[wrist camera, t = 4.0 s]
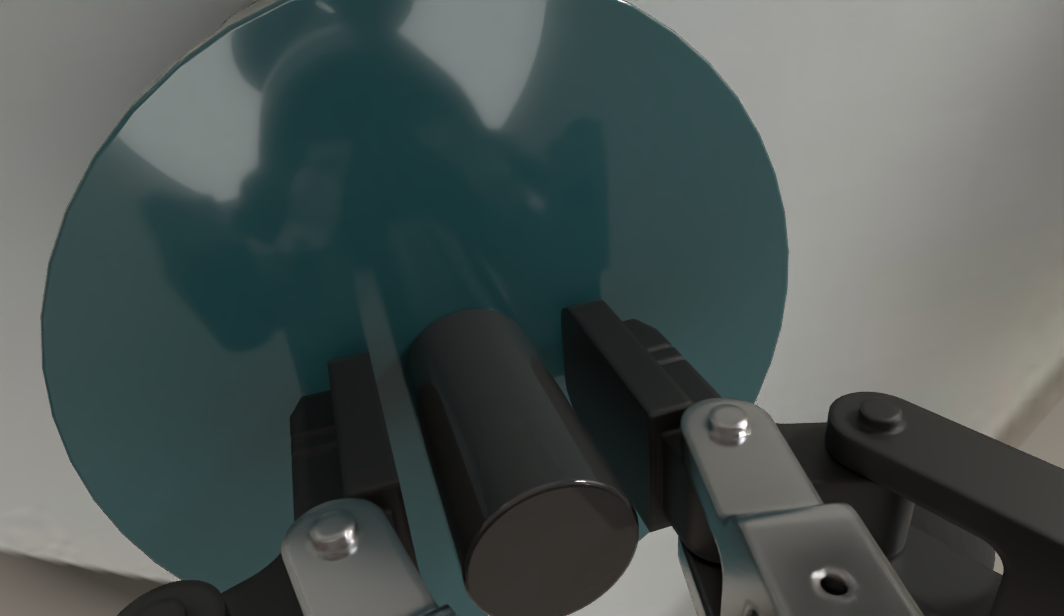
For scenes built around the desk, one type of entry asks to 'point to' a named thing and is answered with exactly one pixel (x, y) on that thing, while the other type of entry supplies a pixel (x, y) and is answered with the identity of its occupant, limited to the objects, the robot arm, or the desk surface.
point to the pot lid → (404, 276)
